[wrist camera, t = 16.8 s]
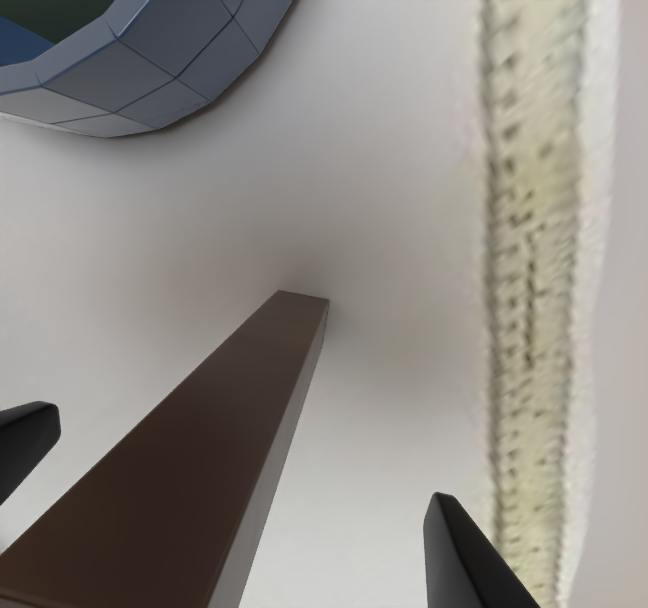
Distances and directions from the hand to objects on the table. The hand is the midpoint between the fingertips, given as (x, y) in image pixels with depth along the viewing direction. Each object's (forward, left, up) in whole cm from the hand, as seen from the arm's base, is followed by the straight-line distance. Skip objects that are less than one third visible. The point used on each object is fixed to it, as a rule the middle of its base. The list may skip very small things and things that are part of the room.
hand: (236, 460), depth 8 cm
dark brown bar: (0, +1, -8) cm, 8 cm away
